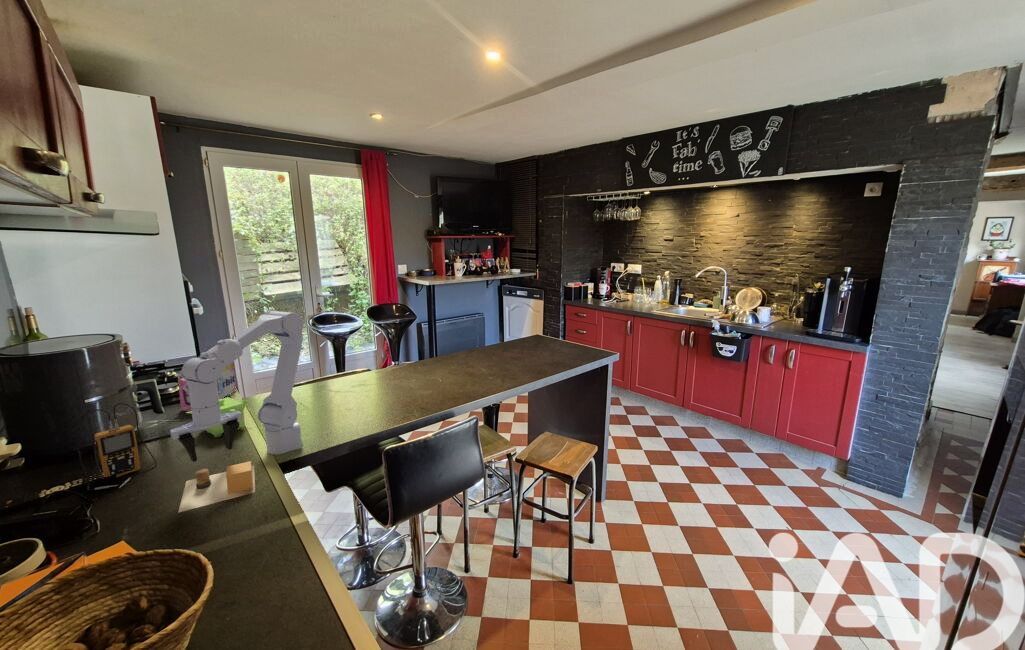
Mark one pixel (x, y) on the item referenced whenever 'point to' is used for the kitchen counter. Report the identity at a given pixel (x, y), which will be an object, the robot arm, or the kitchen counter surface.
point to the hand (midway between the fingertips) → (211, 454)
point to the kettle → (226, 407)
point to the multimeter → (116, 450)
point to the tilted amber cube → (239, 477)
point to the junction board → (208, 490)
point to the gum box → (224, 384)
